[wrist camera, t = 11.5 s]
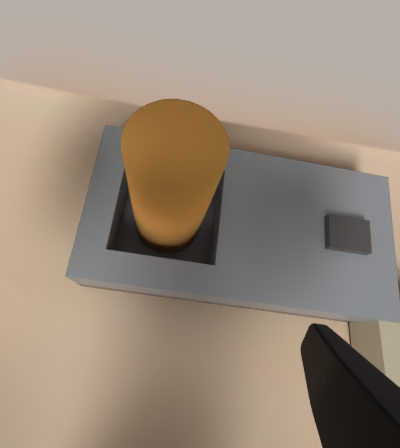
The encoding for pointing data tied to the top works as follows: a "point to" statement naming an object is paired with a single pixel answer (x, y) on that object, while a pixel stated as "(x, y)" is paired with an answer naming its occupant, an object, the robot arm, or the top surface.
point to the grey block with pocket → (252, 240)
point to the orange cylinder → (172, 170)
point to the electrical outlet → (378, 345)
